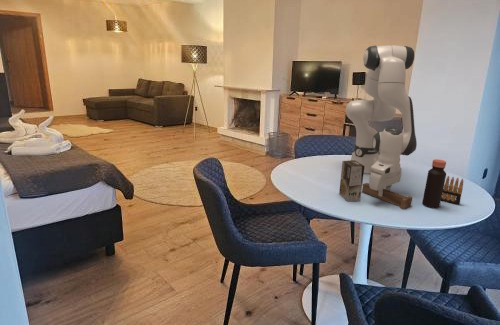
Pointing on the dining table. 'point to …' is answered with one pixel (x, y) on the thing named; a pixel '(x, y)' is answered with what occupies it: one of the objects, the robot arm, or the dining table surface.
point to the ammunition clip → (448, 191)
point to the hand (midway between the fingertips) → (383, 194)
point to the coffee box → (351, 180)
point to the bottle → (434, 184)
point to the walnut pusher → (389, 196)
